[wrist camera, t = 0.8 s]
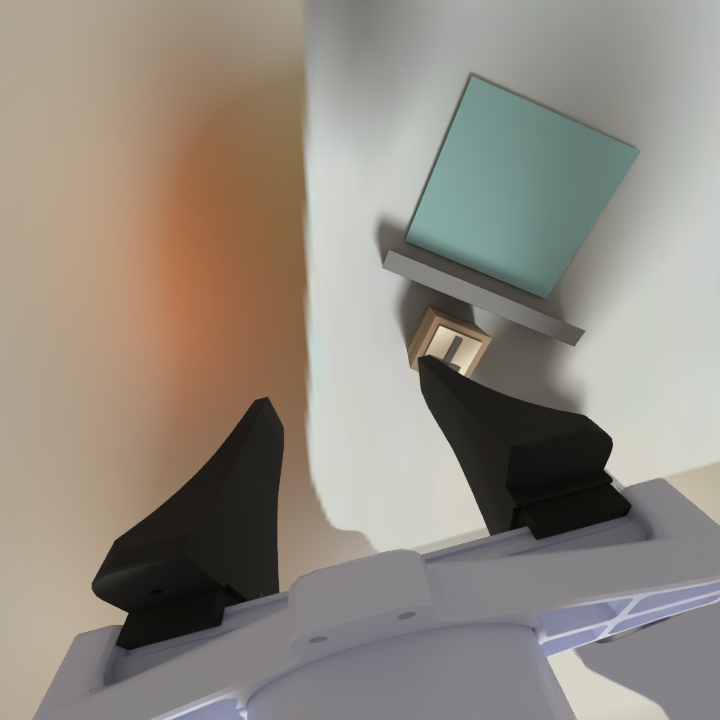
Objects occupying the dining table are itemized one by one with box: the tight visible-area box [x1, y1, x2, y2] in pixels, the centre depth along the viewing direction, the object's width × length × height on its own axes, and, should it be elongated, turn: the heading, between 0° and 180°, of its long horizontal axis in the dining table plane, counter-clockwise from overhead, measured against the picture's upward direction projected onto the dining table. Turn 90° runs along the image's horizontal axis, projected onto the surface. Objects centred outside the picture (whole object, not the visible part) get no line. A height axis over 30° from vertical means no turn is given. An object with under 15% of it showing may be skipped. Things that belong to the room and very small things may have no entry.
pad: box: [405, 76, 640, 299], centre depth 24 cm, size 14×12×1 cm
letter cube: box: [407, 305, 492, 378], centre depth 26 cm, size 5×5×5 cm
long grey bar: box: [382, 250, 585, 346], centre depth 25 cm, size 18×2×3 cm, turn 69°
